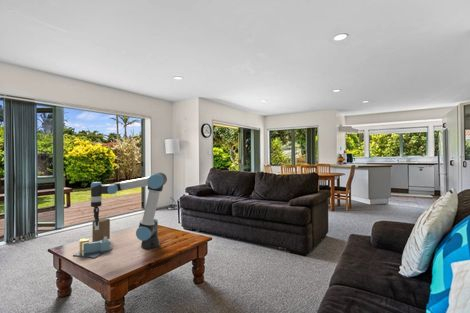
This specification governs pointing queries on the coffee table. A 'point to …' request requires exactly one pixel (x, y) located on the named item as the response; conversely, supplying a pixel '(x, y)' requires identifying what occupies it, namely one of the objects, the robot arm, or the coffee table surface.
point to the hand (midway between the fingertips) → (96, 227)
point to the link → (96, 246)
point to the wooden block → (101, 230)
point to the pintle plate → (91, 254)
